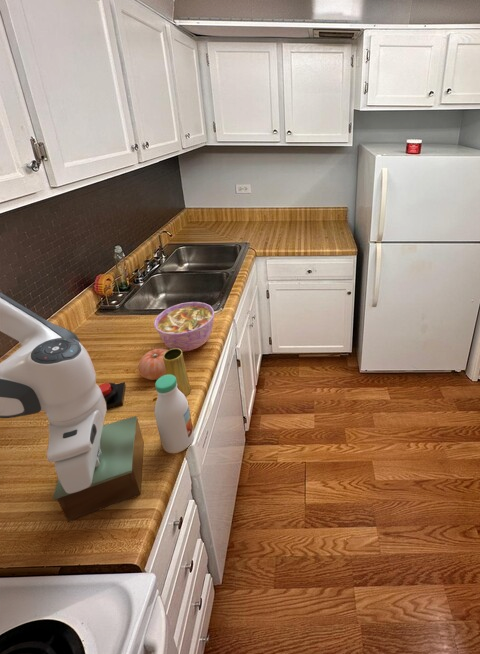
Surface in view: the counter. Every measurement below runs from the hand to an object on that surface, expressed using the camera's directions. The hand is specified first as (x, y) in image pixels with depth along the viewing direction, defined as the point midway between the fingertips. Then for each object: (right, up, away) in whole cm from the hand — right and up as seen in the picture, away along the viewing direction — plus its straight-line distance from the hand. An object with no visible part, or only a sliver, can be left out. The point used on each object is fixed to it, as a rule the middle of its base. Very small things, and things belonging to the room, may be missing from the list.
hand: (96, 461), depth 70 cm
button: (-15, +3, +26) cm, 30 cm away
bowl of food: (0, +10, +51) cm, 52 cm away
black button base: (-15, 0, +27) cm, 31 cm away
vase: (+6, +1, +30) cm, 31 cm away
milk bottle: (+11, -5, +15) cm, 20 cm away
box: (-1, -8, +7) cm, 10 cm away
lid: (-1, 0, +3) cm, 3 cm away
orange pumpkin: (-4, +4, +38) cm, 38 cm away
